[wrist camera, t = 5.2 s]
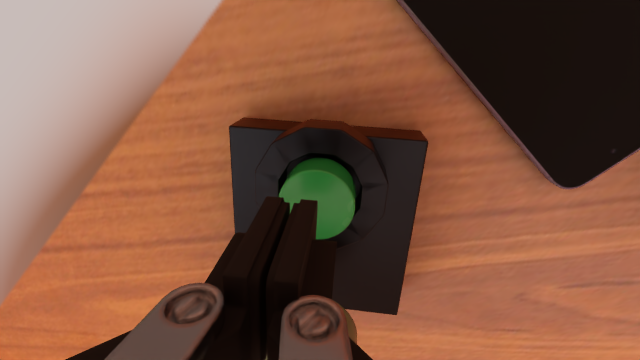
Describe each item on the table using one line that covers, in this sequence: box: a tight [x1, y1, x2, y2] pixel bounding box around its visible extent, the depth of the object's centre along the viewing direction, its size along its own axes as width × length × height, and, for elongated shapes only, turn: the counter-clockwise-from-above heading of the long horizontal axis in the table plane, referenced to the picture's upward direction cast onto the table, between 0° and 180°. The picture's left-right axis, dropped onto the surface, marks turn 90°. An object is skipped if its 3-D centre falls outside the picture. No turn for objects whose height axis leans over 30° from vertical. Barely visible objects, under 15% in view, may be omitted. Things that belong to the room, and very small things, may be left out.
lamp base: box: [229, 118, 428, 315], centre depth 18 cm, size 12×10×4 cm
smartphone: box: [397, 0, 640, 189], centre depth 15 cm, size 7×1×15 cm
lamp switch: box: [279, 158, 356, 239], centre depth 15 cm, size 3×3×2 cm
